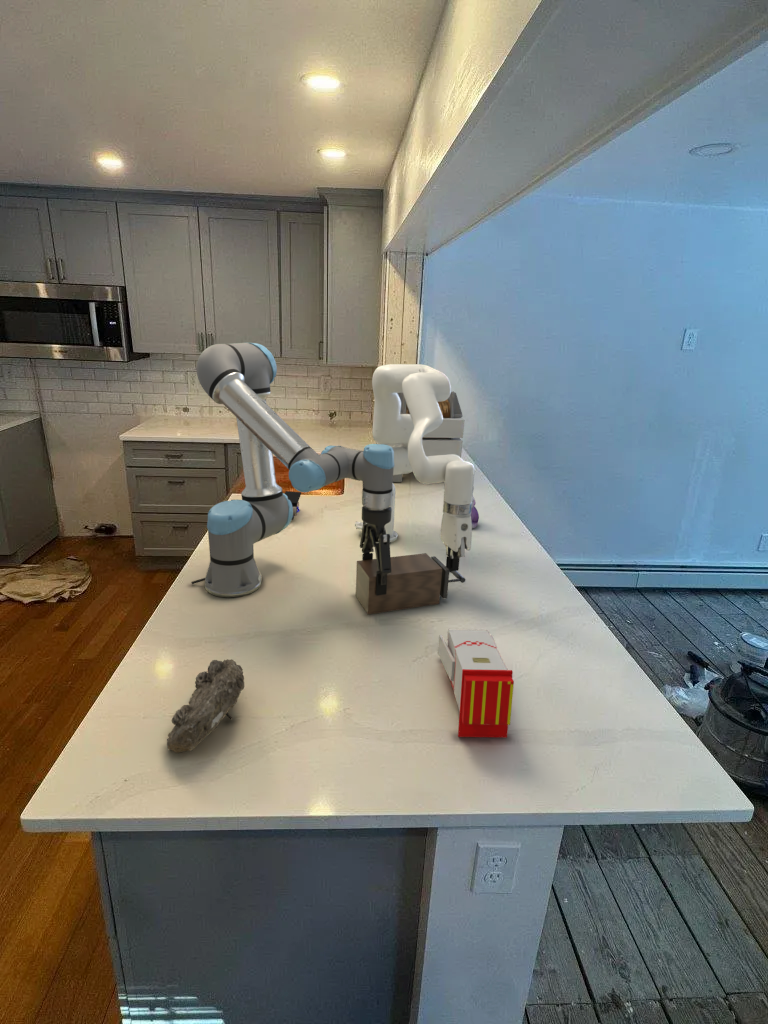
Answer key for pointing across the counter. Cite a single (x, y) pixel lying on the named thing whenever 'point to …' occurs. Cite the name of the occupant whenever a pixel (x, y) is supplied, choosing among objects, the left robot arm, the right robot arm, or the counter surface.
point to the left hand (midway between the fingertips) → (373, 584)
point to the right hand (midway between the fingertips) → (452, 569)
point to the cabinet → (399, 584)
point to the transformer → (440, 430)
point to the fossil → (206, 705)
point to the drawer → (447, 578)
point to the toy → (478, 682)
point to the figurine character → (294, 501)
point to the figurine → (474, 513)
